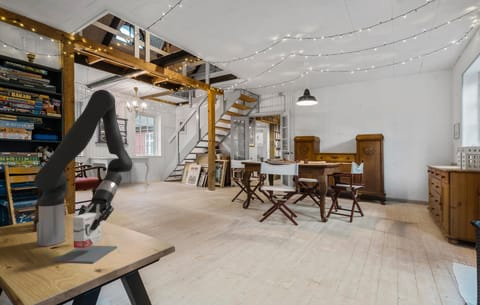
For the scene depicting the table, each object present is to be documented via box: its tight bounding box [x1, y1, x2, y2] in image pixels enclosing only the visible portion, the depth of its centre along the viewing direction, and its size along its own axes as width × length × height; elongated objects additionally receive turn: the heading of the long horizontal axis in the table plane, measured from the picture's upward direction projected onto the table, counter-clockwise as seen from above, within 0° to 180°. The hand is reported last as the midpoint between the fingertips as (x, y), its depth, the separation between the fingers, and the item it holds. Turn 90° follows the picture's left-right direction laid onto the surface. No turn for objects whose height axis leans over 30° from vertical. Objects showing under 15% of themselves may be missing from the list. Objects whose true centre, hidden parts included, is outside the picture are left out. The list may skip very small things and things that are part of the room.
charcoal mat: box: [52, 244, 118, 264], centre depth 94 cm, size 16×14×1 cm
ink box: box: [72, 212, 102, 249], centre depth 95 cm, size 9×5×12 cm, turn 168°
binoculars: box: [32, 189, 44, 233], centre depth 130 cm, size 18×8×20 cm, turn 38°
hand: (85, 229), depth 94 cm, fingers closed on ink box, 5 cm apart
